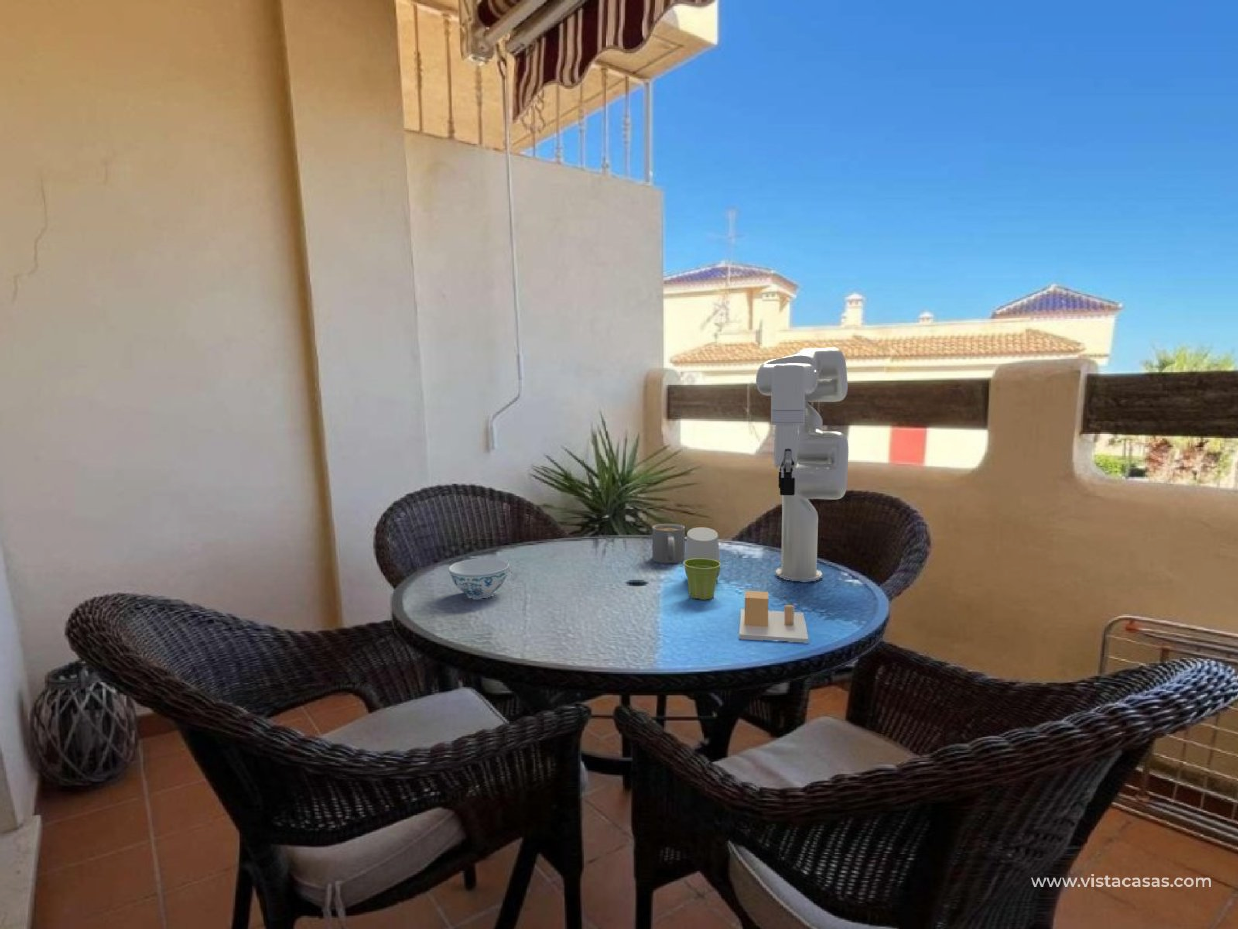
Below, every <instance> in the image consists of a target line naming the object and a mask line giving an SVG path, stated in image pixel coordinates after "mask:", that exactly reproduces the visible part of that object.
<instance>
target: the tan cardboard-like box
mask: <svg viewBox="0 0 1238 929" xmlns="http://www.w3.org/2000/svg"><path fill="white" fill-rule="evenodd" d="M744 609H745V625H749V626H765V627H768V611H769V591H762V590H760V591H759V590H745V591H744Z"/></svg>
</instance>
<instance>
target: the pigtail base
mask: <svg viewBox="0 0 1238 929" xmlns="http://www.w3.org/2000/svg"><path fill="white" fill-rule="evenodd" d="M739 620H740V621H739V630H738V632H739V633H738V634H739V635H738V639H739V640H751V641H752V640H753V641H763V640H778V641H788V642H787V643H793V642H808V643H809V634H808V630H807V624H806V619H805V615H804V612H801V611H800V612H799V611H798V612H797V611H795V606H794V605H792V604H786V605H784V611H781V610H780V611H779V610H768V627H765V626H749V625H745V608H741V609H740V619H739ZM778 641H777V642H778Z"/></svg>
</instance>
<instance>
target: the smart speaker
mask: <svg viewBox="0 0 1238 929" xmlns="http://www.w3.org/2000/svg"><path fill="white" fill-rule="evenodd" d="M686 534H687V535H686V542H685V543H686V544H685V560H688V559H695V558H704V559H712V560H716V561H718V562H720V563H721V558H720V546H719V544H720V543H719V534H718V532H717V531H716V530H715V529H712V528H709V527H705V526H704V527H703V526H702V527H701V526H700V527H693V528H691V529H689V530H687V532H686ZM685 560H684V561H685ZM720 569H721V566H720V567H719V571H718V572H717V578H716V580H717V579H718V578H719V575H720V571H721V570H720ZM684 571H685V575H686V576H687V572H686V570H685V569H684Z"/></svg>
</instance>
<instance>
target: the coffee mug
mask: <svg viewBox="0 0 1238 929" xmlns="http://www.w3.org/2000/svg"><path fill="white" fill-rule="evenodd" d="M651 530H652V532H651V533H652V537H651V541H652V543H651V546H652V548H651V549H652V552H651V553H652V560H653V561H654V562H656V563H661V564H678V563H682V562H684V561H685V555H686V544H685V543H686V542H685V540H686V538H685V537H686V536H685V535H686V532H685V531H686V529H685V526H684V525H681V524H678V523H677V524H676V523H660V524H655V525H652V529H651Z"/></svg>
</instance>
